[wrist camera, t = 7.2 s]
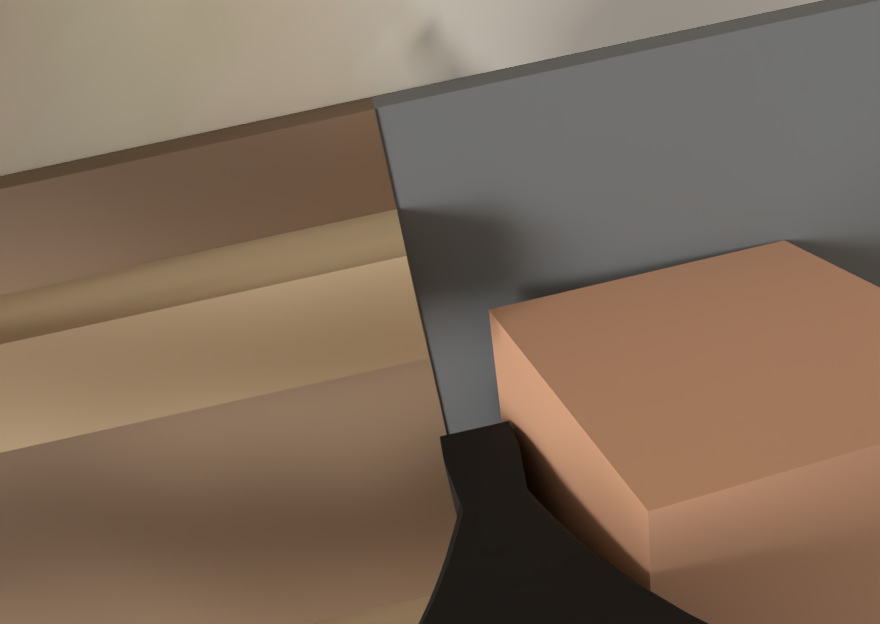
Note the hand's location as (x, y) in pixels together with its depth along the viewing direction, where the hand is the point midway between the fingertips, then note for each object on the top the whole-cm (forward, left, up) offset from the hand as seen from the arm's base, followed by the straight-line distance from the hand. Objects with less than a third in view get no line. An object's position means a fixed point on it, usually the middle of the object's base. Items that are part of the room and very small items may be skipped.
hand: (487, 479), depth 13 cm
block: (0, -3, -1) cm, 3 cm away
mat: (0, -3, -2) cm, 4 cm away
